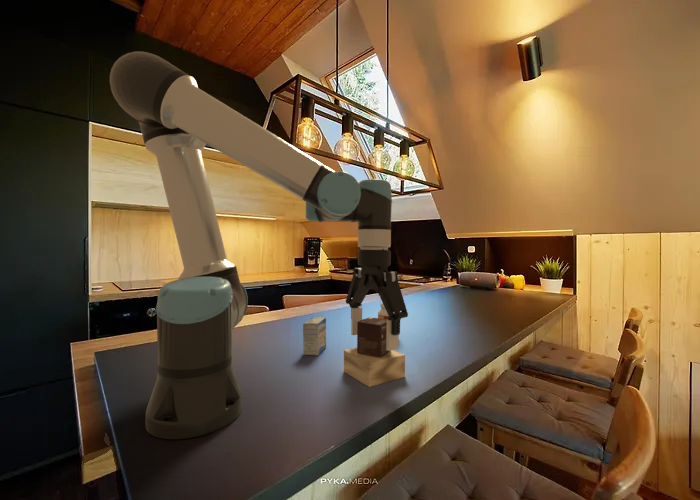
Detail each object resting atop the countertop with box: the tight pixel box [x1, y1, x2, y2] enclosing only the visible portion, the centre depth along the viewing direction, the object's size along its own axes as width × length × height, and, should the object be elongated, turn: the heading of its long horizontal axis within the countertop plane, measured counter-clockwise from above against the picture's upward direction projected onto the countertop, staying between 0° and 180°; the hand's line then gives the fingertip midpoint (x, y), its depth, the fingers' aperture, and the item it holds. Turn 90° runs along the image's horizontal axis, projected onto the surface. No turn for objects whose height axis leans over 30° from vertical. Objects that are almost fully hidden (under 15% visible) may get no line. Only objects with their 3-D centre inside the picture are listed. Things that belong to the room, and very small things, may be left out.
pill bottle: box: [377, 301, 394, 319], centre depth 106 cm, size 6×6×11 cm
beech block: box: [343, 347, 406, 388], centre depth 75 cm, size 10×10×5 cm
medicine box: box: [302, 316, 327, 356], centre depth 92 cm, size 8×4×9 cm, turn 168°
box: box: [356, 316, 391, 357], centre depth 75 cm, size 6×6×7 cm
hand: (373, 341), depth 75 cm, fingers open, 13 cm apart
